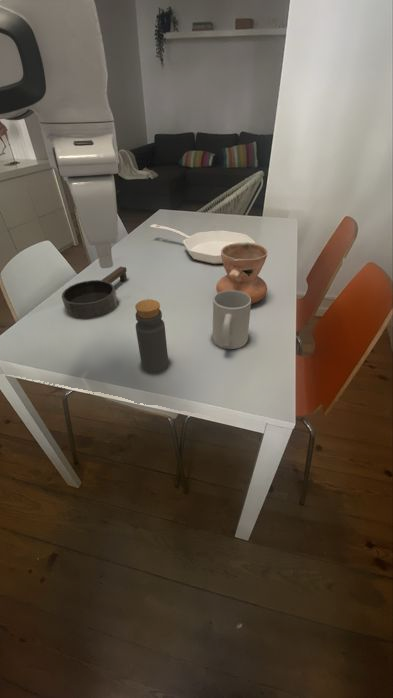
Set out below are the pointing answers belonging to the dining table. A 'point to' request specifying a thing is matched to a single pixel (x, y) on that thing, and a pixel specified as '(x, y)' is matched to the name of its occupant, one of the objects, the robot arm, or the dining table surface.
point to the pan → (209, 243)
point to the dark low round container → (89, 299)
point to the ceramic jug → (243, 270)
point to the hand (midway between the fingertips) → (103, 254)
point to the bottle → (151, 336)
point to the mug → (231, 319)
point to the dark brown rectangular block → (116, 275)
